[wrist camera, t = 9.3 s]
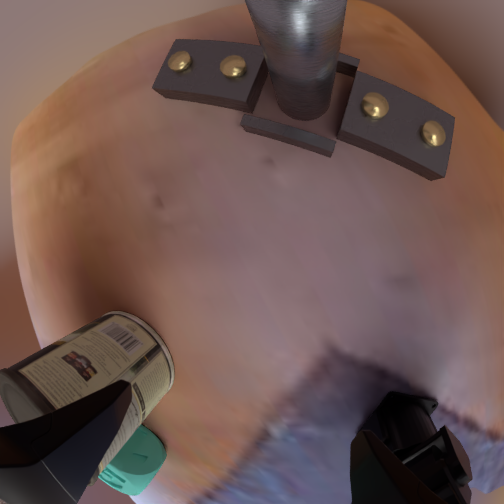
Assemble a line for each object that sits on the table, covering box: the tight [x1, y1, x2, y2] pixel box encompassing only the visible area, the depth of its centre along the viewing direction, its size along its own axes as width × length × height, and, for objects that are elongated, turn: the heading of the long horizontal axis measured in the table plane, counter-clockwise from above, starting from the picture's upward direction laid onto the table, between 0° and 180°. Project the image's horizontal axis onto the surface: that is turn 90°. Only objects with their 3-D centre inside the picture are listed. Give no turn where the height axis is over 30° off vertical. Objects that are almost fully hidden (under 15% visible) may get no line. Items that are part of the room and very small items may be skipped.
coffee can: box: [0, 311, 174, 486], centre depth 17 cm, size 10×10×14 cm
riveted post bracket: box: [152, 39, 455, 181], centre depth 16 cm, size 22×8×3 cm, turn 71°
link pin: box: [245, 0, 347, 121], centre depth 10 cm, size 5×5×15 cm
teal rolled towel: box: [98, 425, 167, 495], centre depth 23 cm, size 8×8×8 cm
